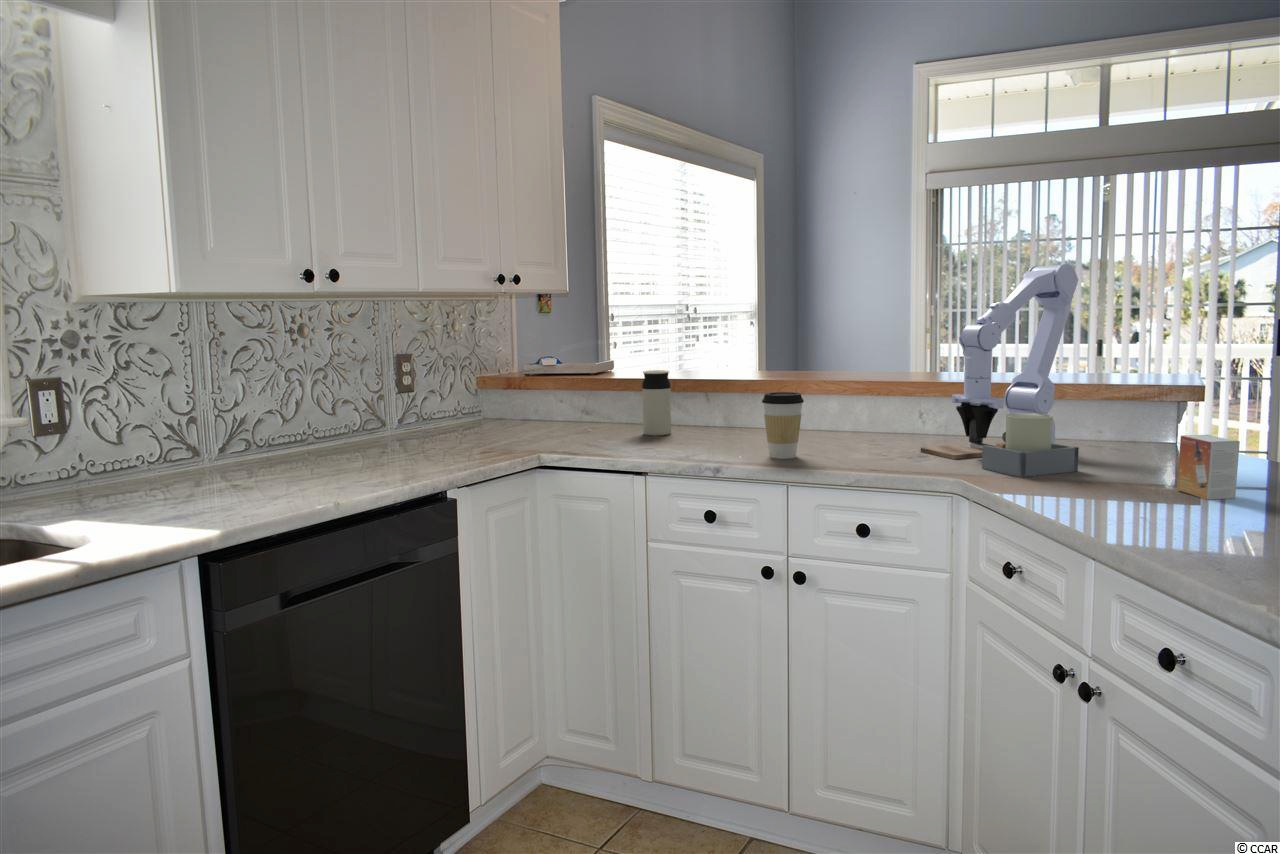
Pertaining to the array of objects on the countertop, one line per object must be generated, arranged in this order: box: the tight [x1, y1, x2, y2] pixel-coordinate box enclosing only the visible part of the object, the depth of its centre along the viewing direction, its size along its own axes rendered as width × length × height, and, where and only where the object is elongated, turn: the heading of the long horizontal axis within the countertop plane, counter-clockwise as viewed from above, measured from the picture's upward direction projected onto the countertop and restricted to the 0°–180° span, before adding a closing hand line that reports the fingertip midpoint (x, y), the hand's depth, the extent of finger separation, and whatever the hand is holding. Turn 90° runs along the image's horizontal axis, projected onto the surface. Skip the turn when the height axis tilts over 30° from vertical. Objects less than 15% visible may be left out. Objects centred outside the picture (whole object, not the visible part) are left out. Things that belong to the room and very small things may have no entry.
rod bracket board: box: [920, 444, 982, 460], centre depth 211 cm, size 10×12×1 cm
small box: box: [1176, 434, 1240, 501], centre depth 161 cm, size 8×6×10 cm
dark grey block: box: [968, 418, 1006, 450], centre depth 199 cm, size 5×13×9 cm, turn 21°
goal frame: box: [981, 443, 1080, 478], centre depth 189 cm, size 15×11×5 cm
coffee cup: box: [761, 391, 805, 460], centre depth 212 cm, size 10×10×15 cm
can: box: [1005, 413, 1054, 452], centre depth 189 cm, size 9×9×12 cm
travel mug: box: [641, 369, 672, 437], centre depth 254 cm, size 8×8×18 cm
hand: (976, 437), depth 204 cm, fingers closed on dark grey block, 3 cm apart
